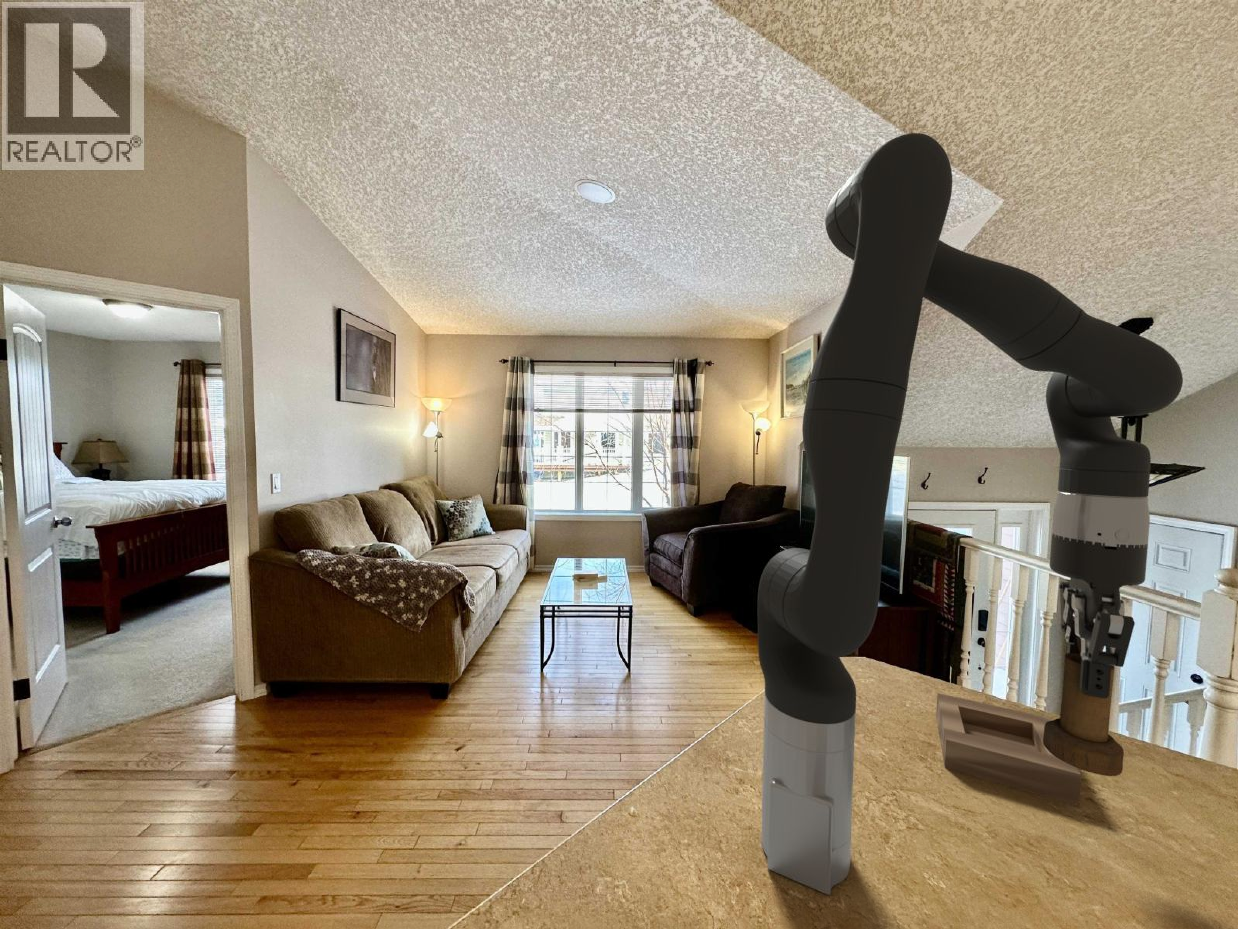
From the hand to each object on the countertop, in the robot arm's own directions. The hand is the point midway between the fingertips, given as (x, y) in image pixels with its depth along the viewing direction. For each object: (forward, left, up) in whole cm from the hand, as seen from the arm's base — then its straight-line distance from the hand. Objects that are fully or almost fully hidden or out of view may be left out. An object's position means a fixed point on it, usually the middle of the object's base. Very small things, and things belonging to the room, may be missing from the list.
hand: (1086, 685), depth 54 cm
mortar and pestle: (0, 0, -9) cm, 9 cm away
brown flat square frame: (+14, +5, -19) cm, 24 cm away
